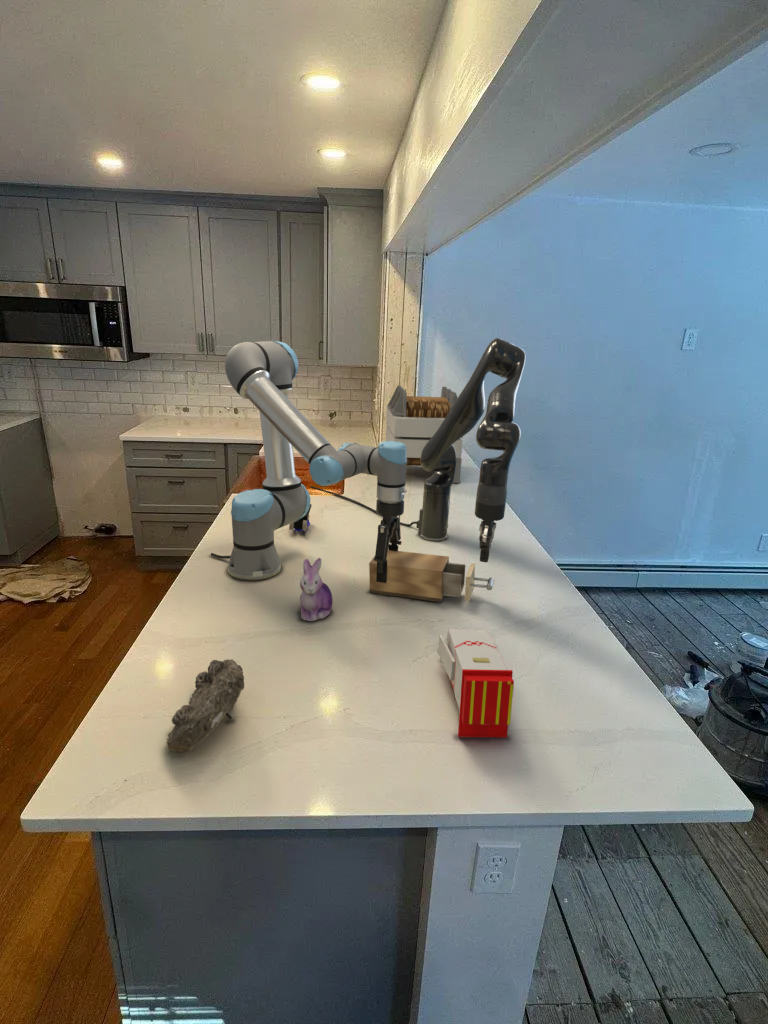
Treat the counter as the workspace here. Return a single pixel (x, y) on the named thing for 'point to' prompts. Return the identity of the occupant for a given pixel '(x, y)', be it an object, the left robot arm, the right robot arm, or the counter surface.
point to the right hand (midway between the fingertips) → (483, 560)
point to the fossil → (206, 705)
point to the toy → (478, 682)
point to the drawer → (461, 580)
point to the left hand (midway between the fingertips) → (387, 573)
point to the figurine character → (301, 523)
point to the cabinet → (410, 575)
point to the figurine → (314, 593)
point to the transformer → (419, 423)
